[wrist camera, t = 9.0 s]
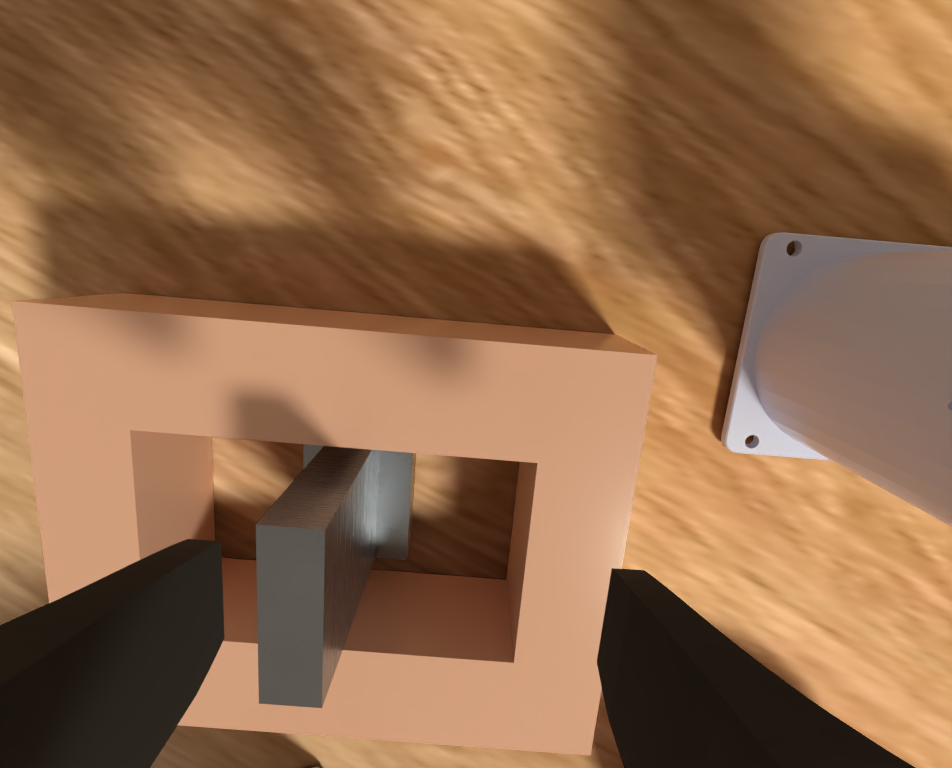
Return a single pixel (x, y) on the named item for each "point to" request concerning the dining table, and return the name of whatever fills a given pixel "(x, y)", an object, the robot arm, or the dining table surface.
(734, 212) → the dining table surface
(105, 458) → the holder block
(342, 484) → the brushed metal prism
